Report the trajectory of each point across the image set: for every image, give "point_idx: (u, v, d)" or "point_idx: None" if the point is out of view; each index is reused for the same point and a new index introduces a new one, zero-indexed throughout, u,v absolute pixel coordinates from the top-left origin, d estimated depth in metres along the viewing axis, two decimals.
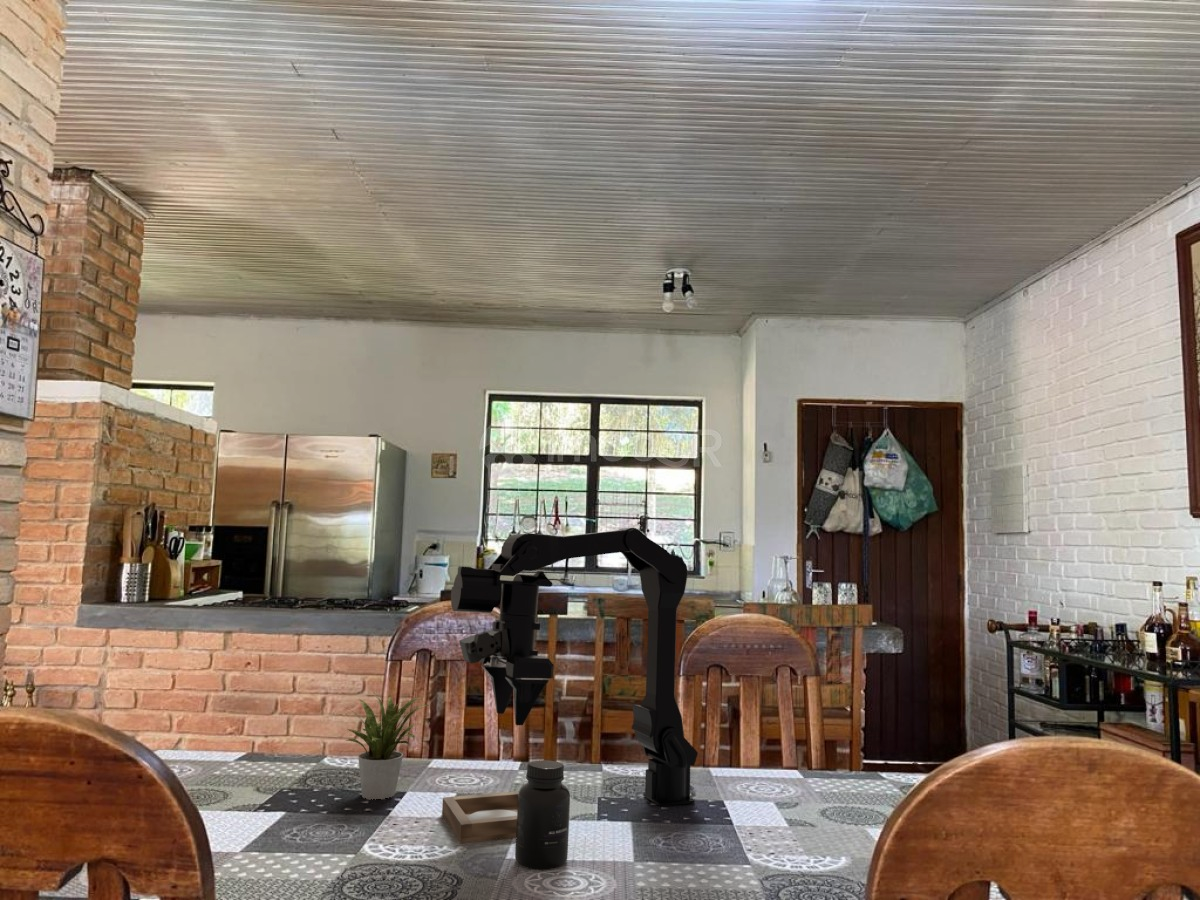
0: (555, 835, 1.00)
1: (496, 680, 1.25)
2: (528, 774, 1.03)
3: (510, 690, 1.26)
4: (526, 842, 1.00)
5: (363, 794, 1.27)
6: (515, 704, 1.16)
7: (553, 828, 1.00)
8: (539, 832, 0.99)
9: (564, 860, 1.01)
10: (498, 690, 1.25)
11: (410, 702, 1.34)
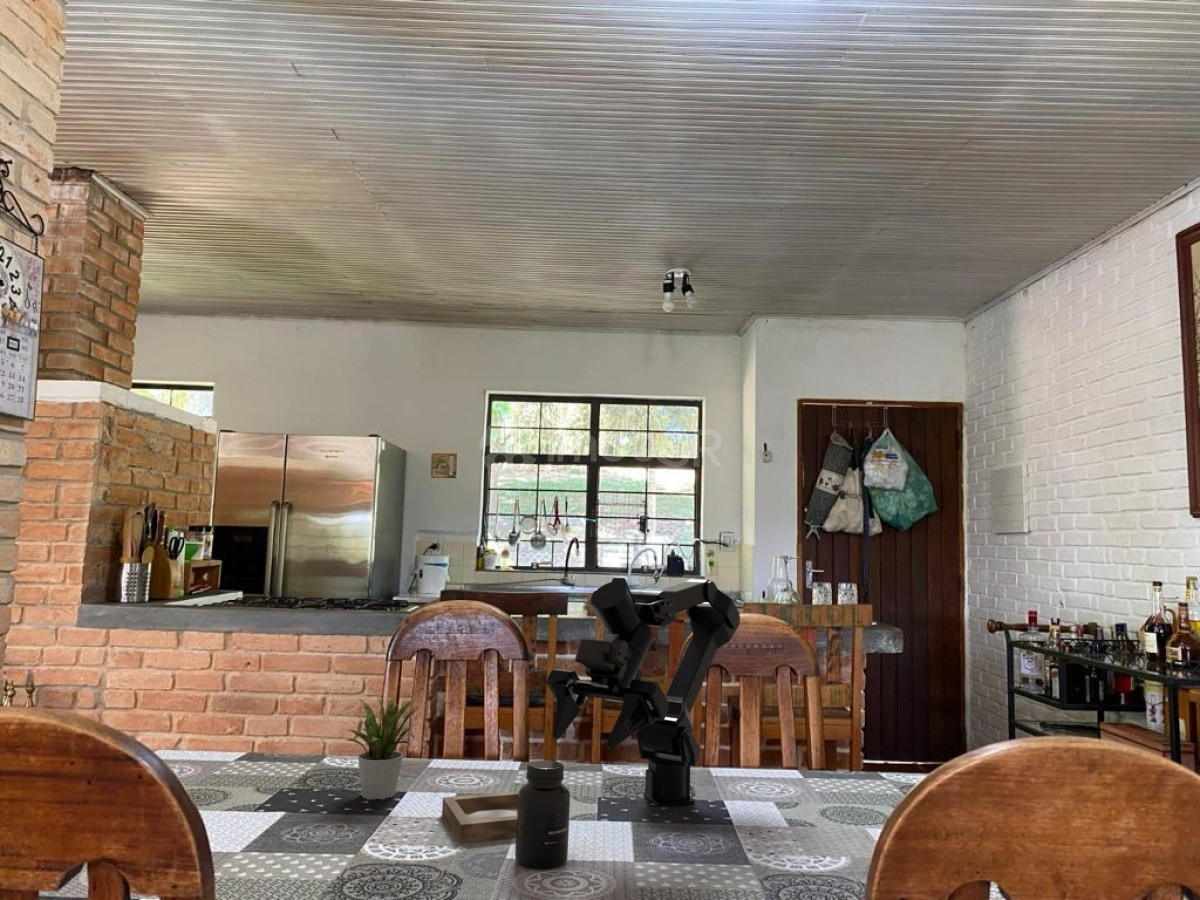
0: (555, 835, 1.00)
1: (566, 703, 1.16)
2: (528, 774, 1.03)
3: (568, 723, 1.17)
4: (526, 842, 1.00)
5: (363, 794, 1.27)
6: (619, 724, 1.09)
7: (553, 828, 1.00)
8: (539, 832, 0.99)
9: (564, 860, 1.01)
10: (563, 714, 1.15)
11: (410, 702, 1.34)
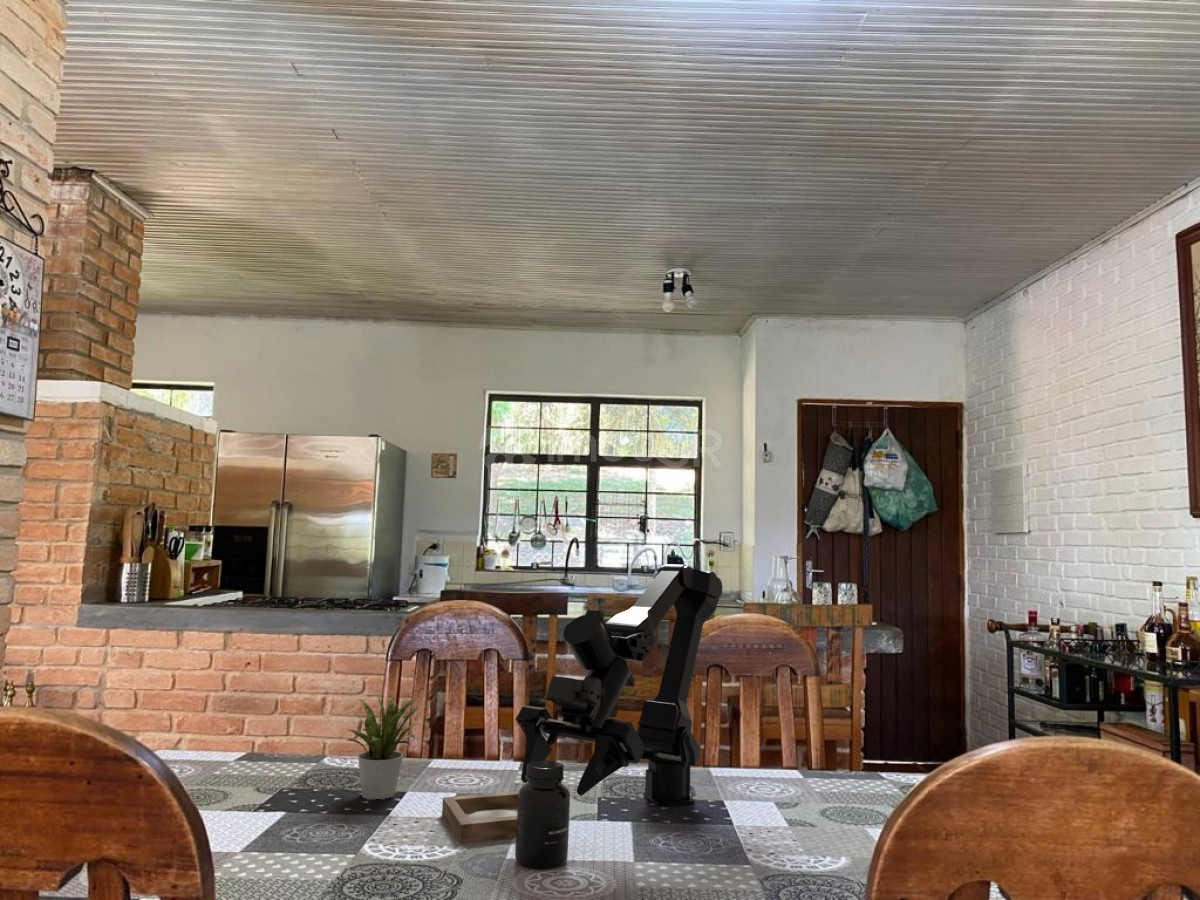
0: (555, 835, 1.00)
1: (535, 744, 1.10)
2: (528, 774, 1.03)
3: None
4: (526, 842, 1.00)
5: (363, 794, 1.27)
6: (590, 768, 1.03)
7: (553, 828, 1.00)
8: (539, 832, 0.99)
9: (564, 860, 1.01)
10: (533, 755, 1.09)
11: (410, 702, 1.34)
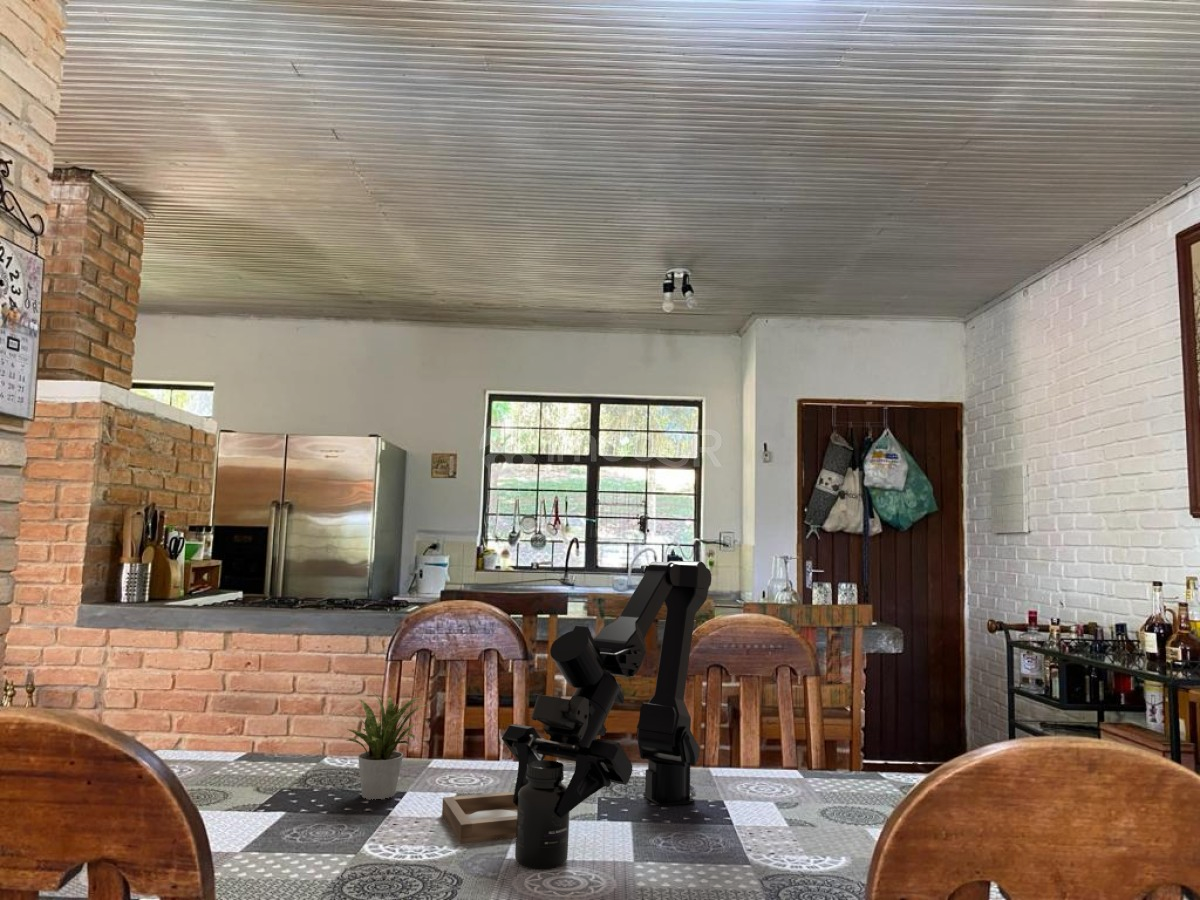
0: (555, 835, 1.00)
1: None
2: (528, 774, 1.03)
3: None
4: (526, 841, 1.00)
5: (363, 794, 1.27)
6: (570, 789, 1.01)
7: (553, 828, 1.00)
8: (539, 832, 0.99)
9: (564, 860, 1.01)
10: (525, 778, 1.06)
11: (410, 702, 1.34)
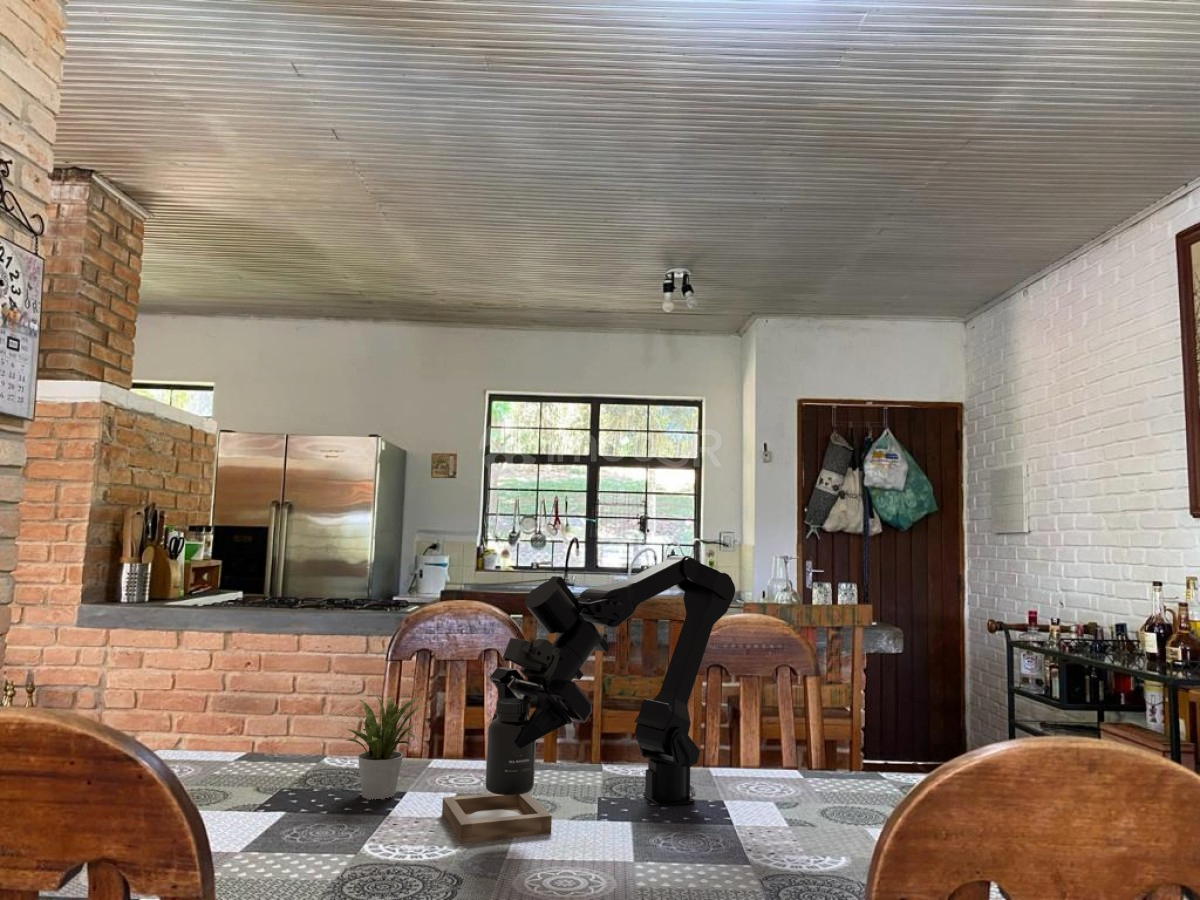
0: (515, 764, 1.08)
1: None
2: (496, 708, 1.12)
3: None
4: (490, 769, 1.09)
5: (363, 794, 1.27)
6: (529, 723, 1.09)
7: (513, 758, 1.08)
8: (500, 760, 1.08)
9: (526, 788, 1.09)
10: None
11: (410, 702, 1.34)
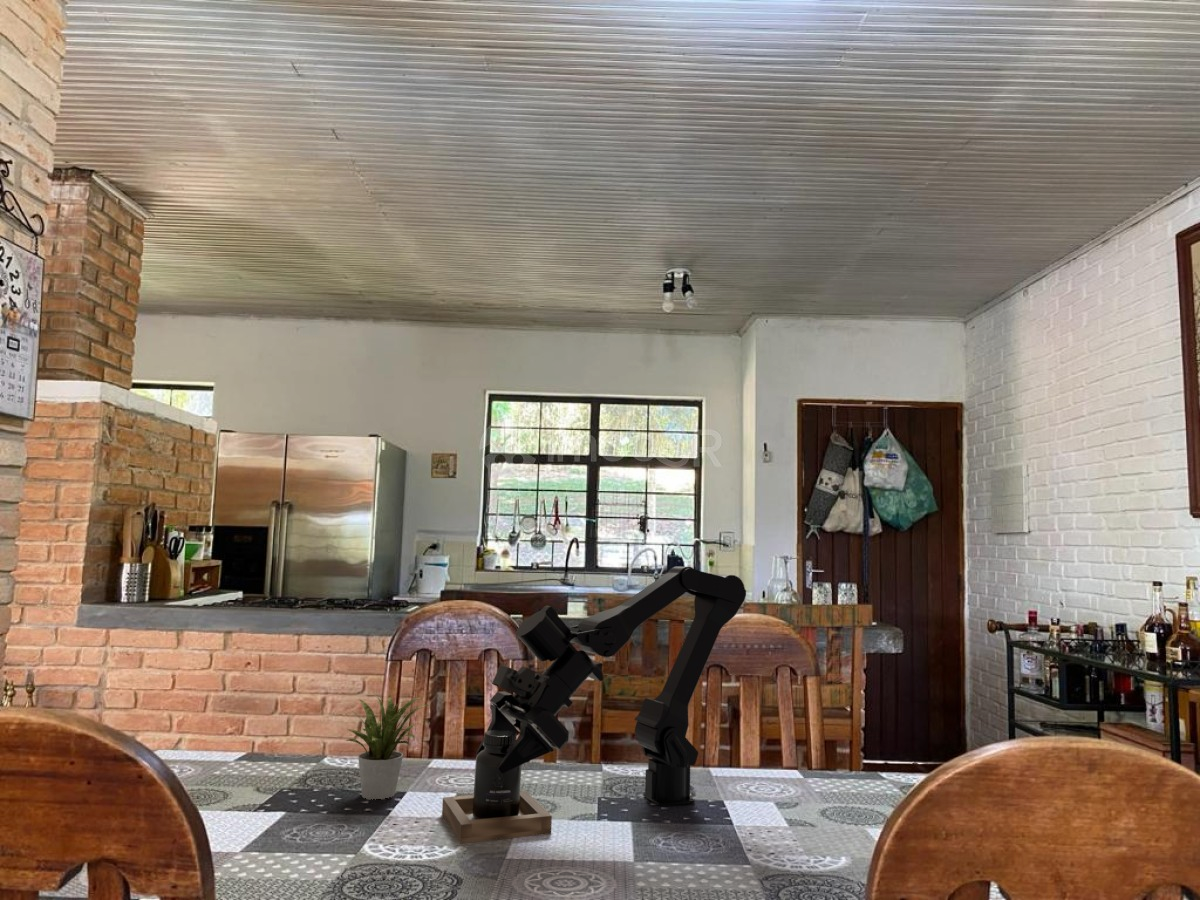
0: (495, 794, 1.14)
1: (496, 725, 1.23)
2: None
3: None
4: (474, 797, 1.15)
5: (363, 794, 1.27)
6: (511, 750, 1.13)
7: (494, 788, 1.14)
8: (482, 790, 1.14)
9: None
10: None
11: (410, 702, 1.34)
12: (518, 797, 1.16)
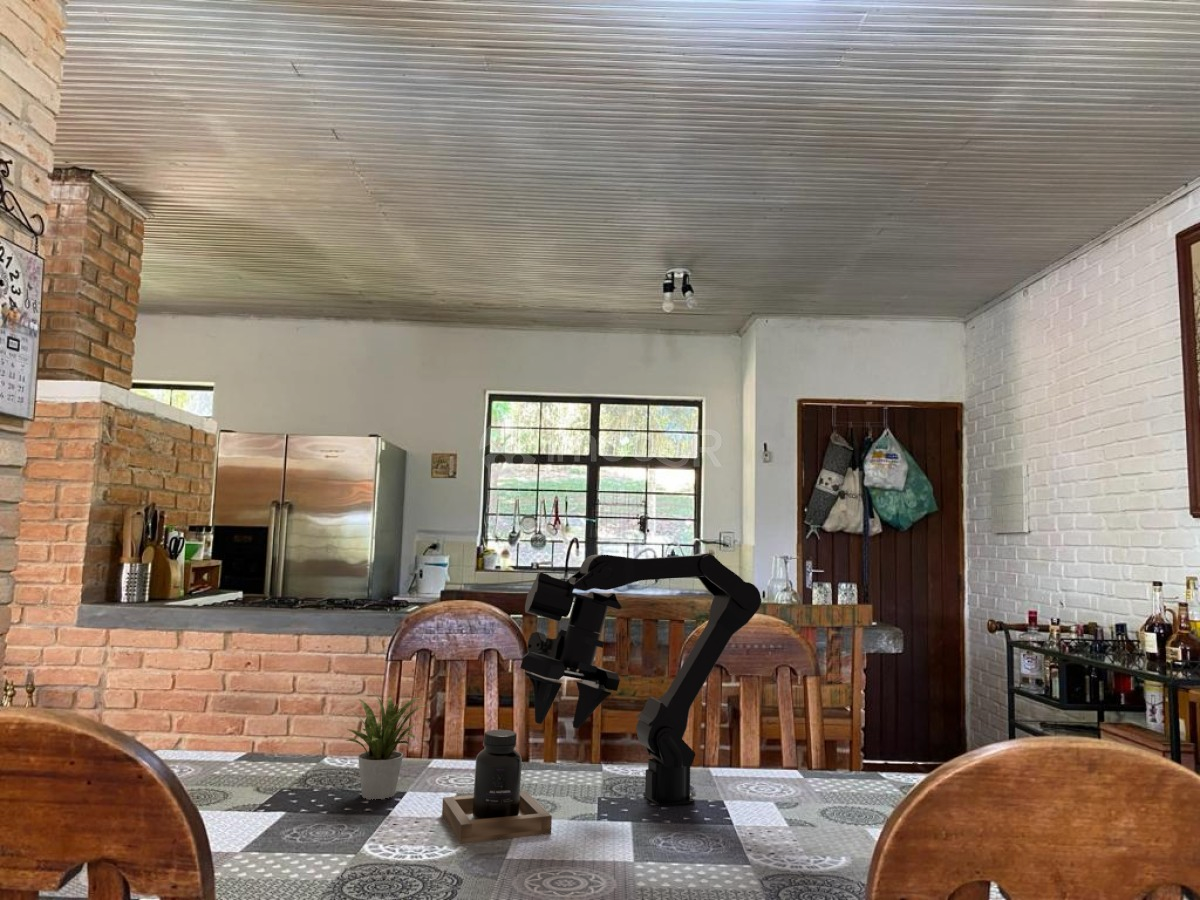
0: (495, 794, 1.14)
1: (580, 695, 1.32)
2: None
3: (588, 708, 1.30)
4: (474, 796, 1.15)
5: (363, 794, 1.27)
6: None
7: (494, 788, 1.14)
8: (482, 790, 1.14)
9: None
10: (579, 705, 1.31)
11: (410, 702, 1.34)
12: (518, 797, 1.16)
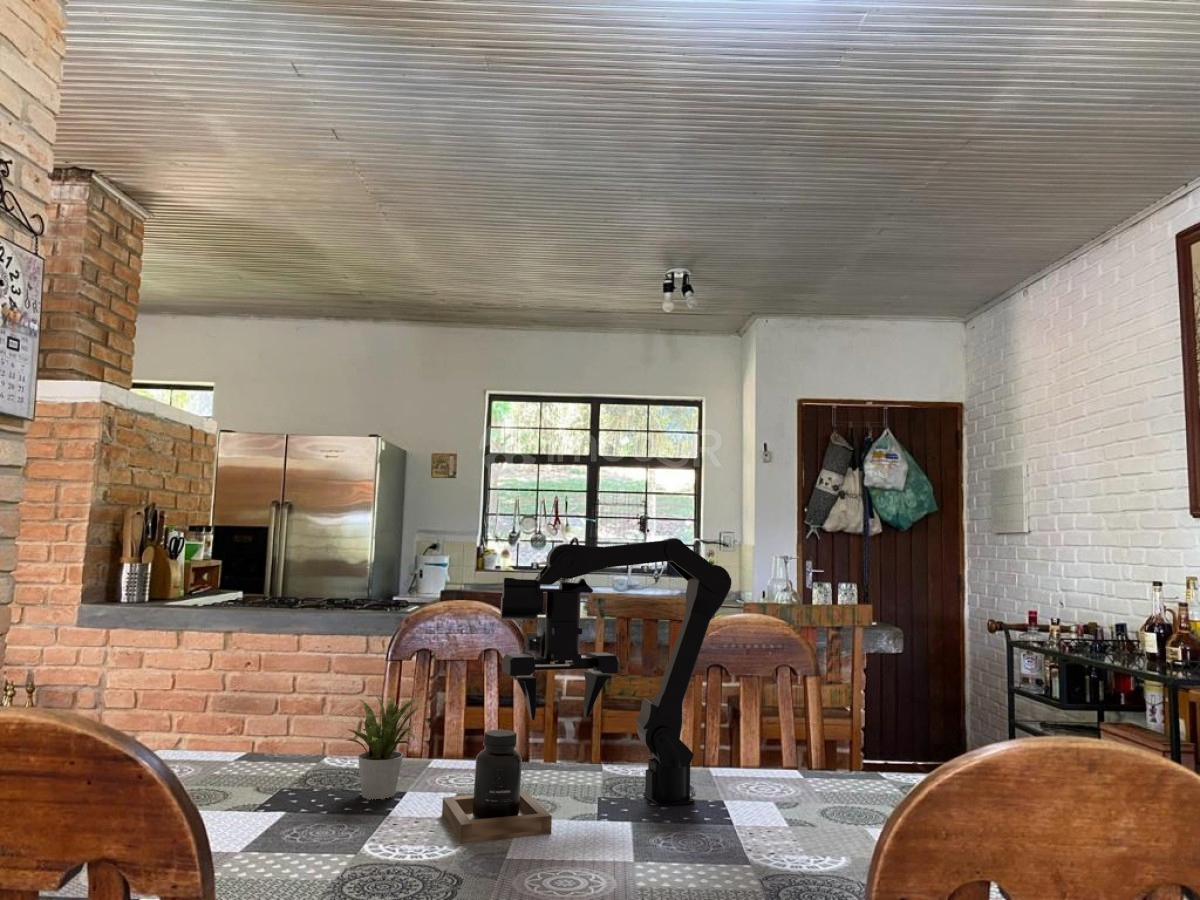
0: (495, 794, 1.14)
1: (586, 684, 1.32)
2: None
3: (591, 696, 1.30)
4: (474, 796, 1.15)
5: (363, 794, 1.27)
6: None
7: (494, 788, 1.14)
8: (482, 789, 1.14)
9: None
10: (585, 694, 1.32)
11: (410, 702, 1.34)
12: (518, 797, 1.16)
